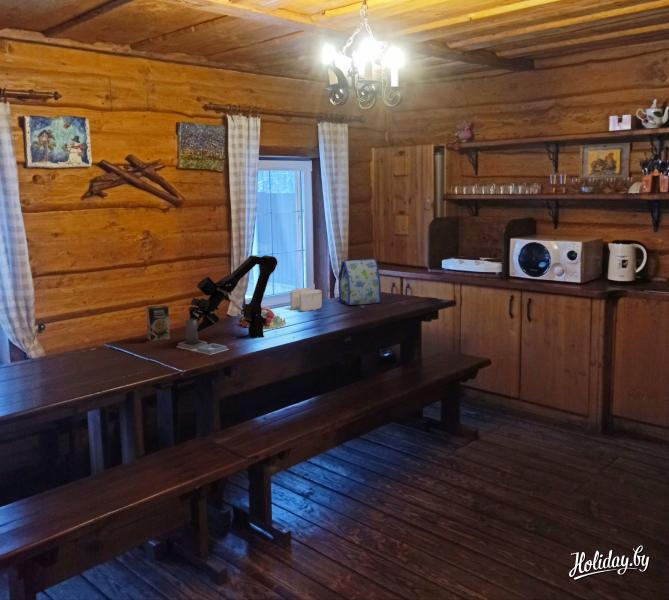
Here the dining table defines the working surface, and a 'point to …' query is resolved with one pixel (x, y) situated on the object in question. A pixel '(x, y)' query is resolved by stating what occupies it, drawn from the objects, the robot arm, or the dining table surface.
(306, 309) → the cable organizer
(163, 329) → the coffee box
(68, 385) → the dining table surface
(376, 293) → the lunch bag
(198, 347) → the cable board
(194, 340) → the grey cylinder
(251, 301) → the robot arm
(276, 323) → the candy landscape model
